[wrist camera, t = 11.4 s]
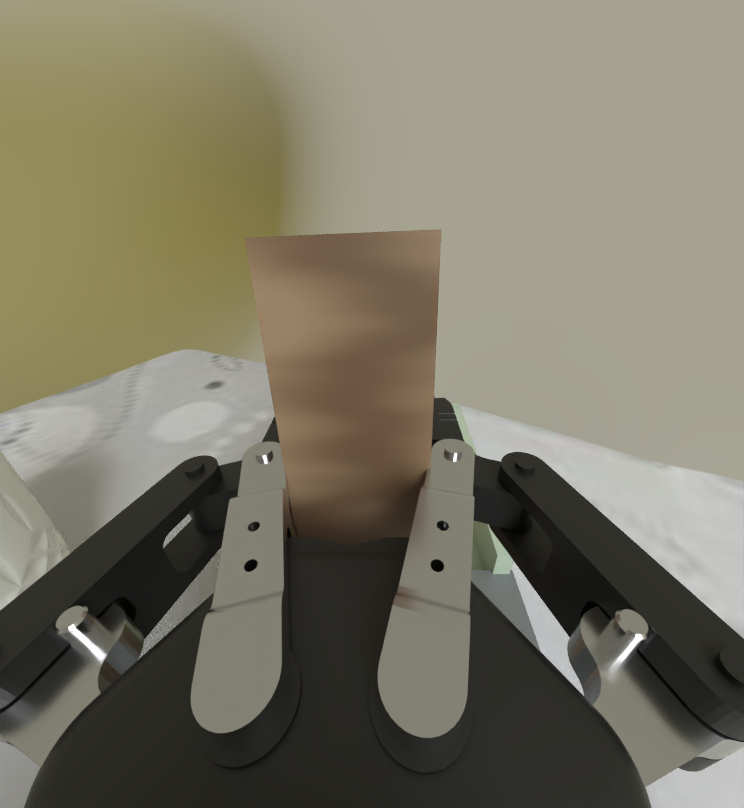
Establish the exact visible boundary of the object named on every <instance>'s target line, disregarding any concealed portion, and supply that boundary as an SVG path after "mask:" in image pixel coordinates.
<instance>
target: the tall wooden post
mask: <svg viewBox="0 0 744 808" xmlns="http://www.w3.org/2000/svg"><path fill="white" fill-rule="evenodd" d="M245 242H246V248H247V254H248V259H249V265H250V271H251V278H252V283H253V289H254V295H255V301H256V306H257V313H258V318H259V324H260V330H261V335H262V342H263V348H264V354H265V359H266V365H267V371H268V377H269V383H270V389H271V395H272V400H273V406H274V412H275V418H276V424H277V430H278V436H279V441H280V447H281V453H282V459H283V465H284V470H285V471H286V476H287V480H288V492H289V500H290V506H291V512H292V517H293V523H294V525H297V527H298V532H299V536H300V538H320V539H324V540H328V541H332V542H336V543H340V544H344V545H356V544H360V543H364V542H368V541H372V540H377V539H381V538H385V537H410V534H411V530H412V525H413V521H414V516H415V512H416V508H417V503H418V499H419V494H420V490H421V487H422V486H423V487H424V483H425V478H426V474H427V469H431V451H432V428H433V405H434V380H435V358H436V357H435V356H436V336H437V313H438V290H439V267H440V243H441V230H418V231H394V232H373V233H348V234H347V233H346V234H322V235H298V236H277V237H275V236H274V237H254V238H253V237H251V238H245Z"/></svg>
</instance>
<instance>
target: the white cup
mask: <svg viewBox="0 0 744 808" xmlns="http://www.w3.org/2000/svg"><path fill="white" fill-rule="evenodd" d="M70 553H71V552H70V551H69V549H68V548H67V545H66V543H65V541H64V539H63V538H62V536H61V534H60V533H59V531H58V530H57V528H56V527H55V526H54V525H53V524H52V522H51V520H50V518H49V517H48V515H47V514H46V512H45V511H44V509H43V508H42V506H41V505H40V503H39V502H38V501H37V499H36V498H35V497H34V495H33V494H32V493H31V491H30V490H29V489H28V487H27V486H26V484H25V483H24V482H23V480H22V479H21V478H20V476H19V475H18V474H17V472H16V471H15V470H14V468H13V467H12V465H11V464H10V463H9V461H8V460H7V459H6V457H5V456H4V454H3V453H2V452H1V450H0V610H1V609H3V608H4V607H5V606H6V605H7V604H9V603H10V602H11V601H12V600H14V599H15V598H16V597H17V596H19V595H20V594H21V593H22V592H23V591H25V590H26V589H27V588H28V587H30V586H31V585H32V584H33V583H35V582H36V581H37V580H38V579H39V578H41V577H42V576H43V575H44V574H46V573H47V572H48V571H49V570H51V569H52V568H53V567H54V566H55V565H57V564H58V563H59V562H60V561H62V560H63V559H64V558H65V557H66V556H68V555H69V554H70Z"/></svg>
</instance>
